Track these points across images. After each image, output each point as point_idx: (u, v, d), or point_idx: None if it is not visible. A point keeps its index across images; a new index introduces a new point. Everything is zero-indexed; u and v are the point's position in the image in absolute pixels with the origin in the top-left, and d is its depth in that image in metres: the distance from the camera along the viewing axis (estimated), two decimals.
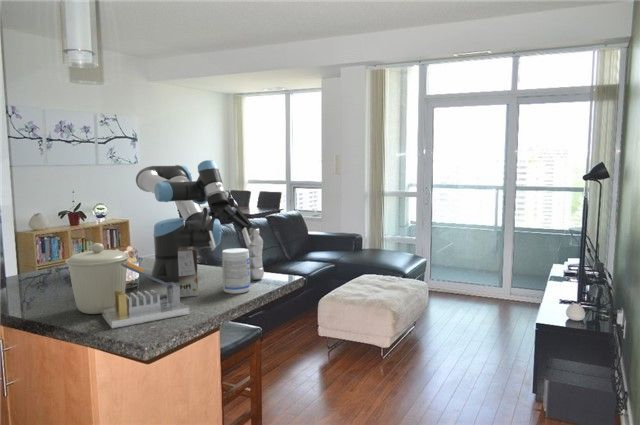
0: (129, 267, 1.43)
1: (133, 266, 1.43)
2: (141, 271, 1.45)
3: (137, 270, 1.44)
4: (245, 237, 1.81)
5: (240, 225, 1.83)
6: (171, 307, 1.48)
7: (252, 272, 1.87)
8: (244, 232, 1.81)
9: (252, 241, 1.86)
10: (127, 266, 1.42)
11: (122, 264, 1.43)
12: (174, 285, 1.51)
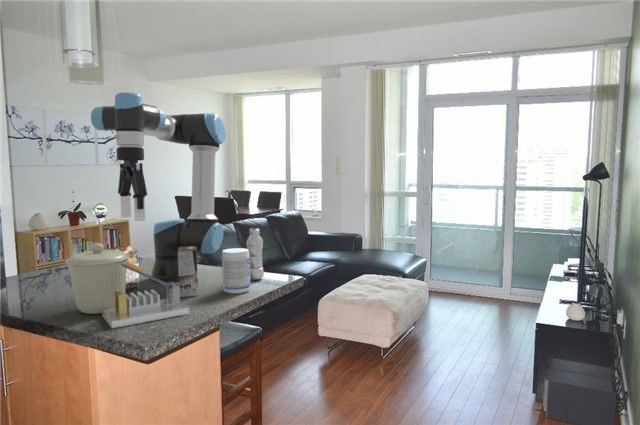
0: (129, 267, 1.43)
1: (133, 266, 1.43)
2: (141, 271, 1.45)
3: (137, 270, 1.44)
4: None
5: None
6: (171, 307, 1.48)
7: (252, 272, 1.87)
8: None
9: (252, 241, 1.86)
10: (127, 266, 1.42)
11: (122, 264, 1.43)
12: (174, 285, 1.51)
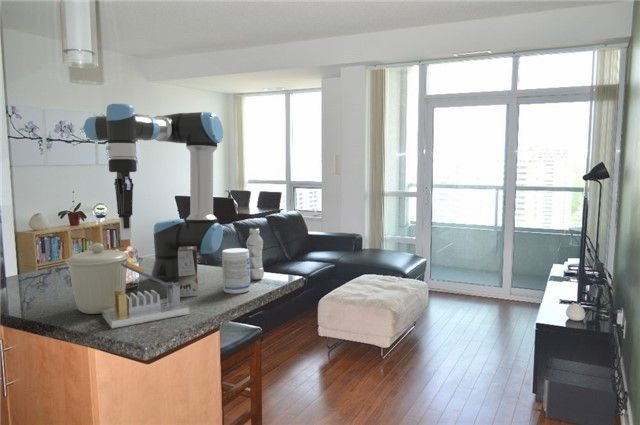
0: (129, 267, 1.43)
1: (133, 266, 1.43)
2: (141, 271, 1.45)
3: (137, 270, 1.44)
4: None
5: None
6: (171, 307, 1.48)
7: (252, 272, 1.87)
8: None
9: (252, 241, 1.86)
10: (127, 266, 1.42)
11: (122, 264, 1.43)
12: (174, 285, 1.51)
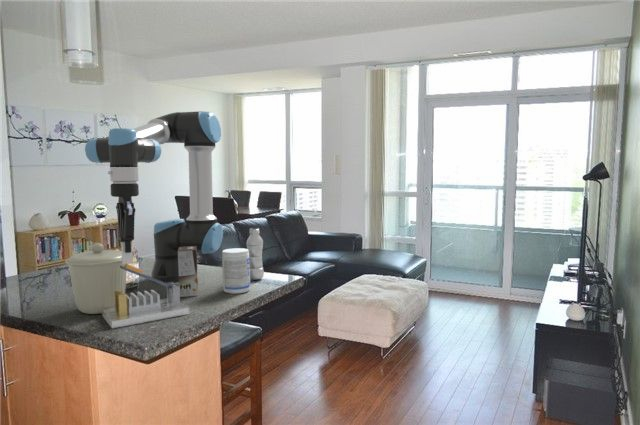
0: (128, 269, 1.42)
1: (132, 268, 1.43)
2: (140, 273, 1.44)
3: (136, 272, 1.44)
4: None
5: None
6: (171, 307, 1.48)
7: (252, 272, 1.87)
8: None
9: (252, 241, 1.86)
10: (126, 268, 1.42)
11: (121, 266, 1.42)
12: (174, 285, 1.51)
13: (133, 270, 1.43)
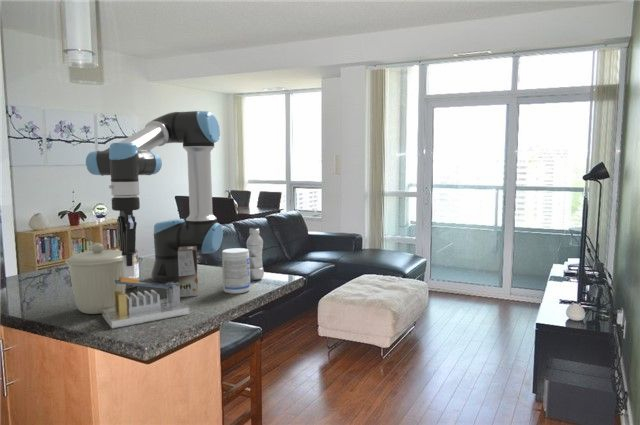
0: (123, 282, 1.42)
1: (127, 280, 1.42)
2: (136, 282, 1.44)
3: (132, 282, 1.43)
4: None
5: None
6: (171, 307, 1.48)
7: (252, 272, 1.87)
8: None
9: (252, 241, 1.86)
10: (121, 282, 1.42)
11: (115, 281, 1.42)
12: (173, 285, 1.50)
13: (128, 282, 1.43)
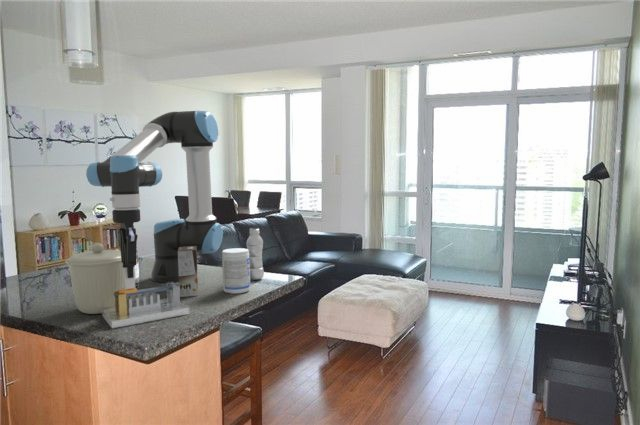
0: None
1: (125, 292, 1.42)
2: (135, 291, 1.44)
3: (131, 293, 1.43)
4: None
5: None
6: (171, 307, 1.48)
7: (252, 272, 1.87)
8: None
9: (252, 241, 1.86)
10: None
11: (114, 295, 1.42)
12: (173, 285, 1.50)
13: (127, 293, 1.43)
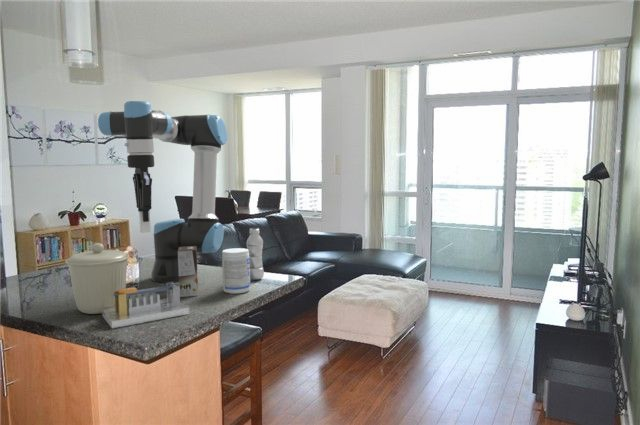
0: None
1: (125, 292, 1.42)
2: (135, 291, 1.44)
3: (131, 293, 1.43)
4: None
5: None
6: (171, 307, 1.48)
7: (252, 272, 1.87)
8: None
9: (252, 241, 1.86)
10: None
11: (114, 295, 1.42)
12: (173, 285, 1.50)
13: (127, 293, 1.43)
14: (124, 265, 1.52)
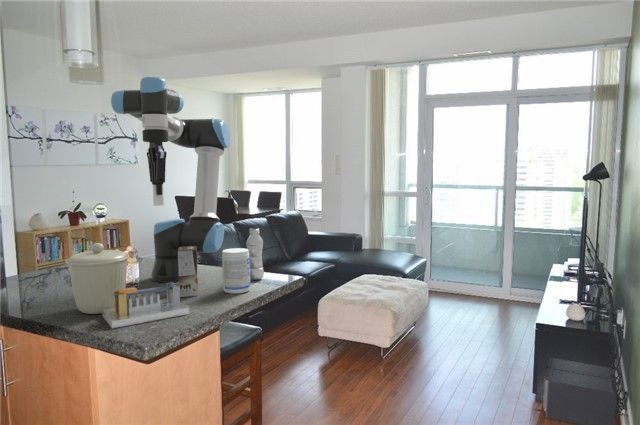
0: None
1: (125, 292, 1.42)
2: (135, 291, 1.44)
3: (131, 293, 1.43)
4: None
5: None
6: (171, 307, 1.48)
7: (252, 272, 1.87)
8: None
9: (252, 241, 1.86)
10: None
11: (114, 295, 1.42)
12: (173, 285, 1.50)
13: (127, 293, 1.43)
14: (124, 265, 1.52)
